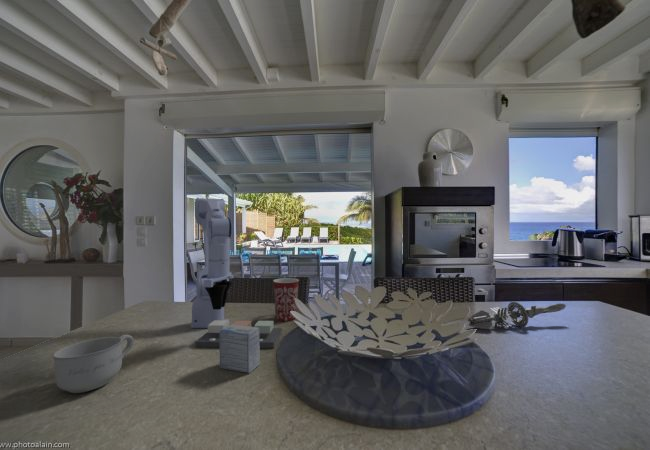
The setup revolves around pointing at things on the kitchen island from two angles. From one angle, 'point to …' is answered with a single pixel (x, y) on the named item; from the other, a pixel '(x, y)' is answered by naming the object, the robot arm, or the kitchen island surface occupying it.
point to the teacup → (89, 363)
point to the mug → (285, 298)
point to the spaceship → (510, 315)
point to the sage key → (265, 326)
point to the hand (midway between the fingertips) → (218, 308)
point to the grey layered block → (239, 348)
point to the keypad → (264, 339)
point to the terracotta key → (242, 323)
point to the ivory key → (217, 326)
